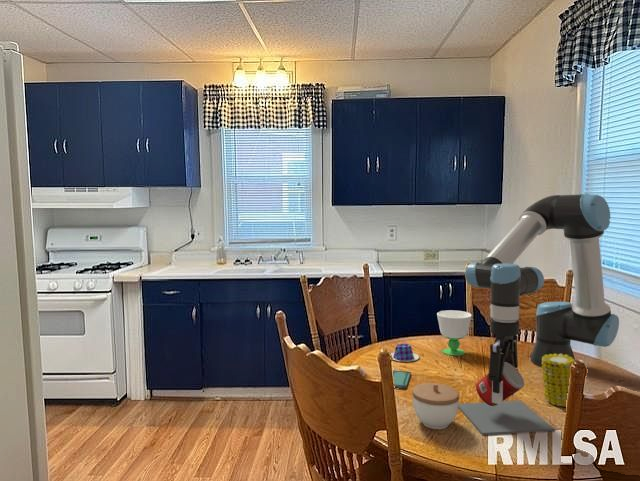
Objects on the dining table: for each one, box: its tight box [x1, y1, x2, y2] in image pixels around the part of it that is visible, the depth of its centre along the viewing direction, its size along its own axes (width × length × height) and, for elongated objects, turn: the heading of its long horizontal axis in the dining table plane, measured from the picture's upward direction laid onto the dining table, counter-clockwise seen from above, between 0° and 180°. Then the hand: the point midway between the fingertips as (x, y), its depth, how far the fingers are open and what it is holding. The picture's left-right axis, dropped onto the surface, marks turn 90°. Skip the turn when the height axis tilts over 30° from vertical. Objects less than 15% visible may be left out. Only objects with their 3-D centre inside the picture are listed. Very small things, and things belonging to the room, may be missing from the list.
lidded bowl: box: [411, 382, 460, 430], centre depth 129 cm, size 13×13×11 cm
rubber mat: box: [458, 400, 556, 436], centre depth 132 cm, size 20×18×1 cm
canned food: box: [475, 362, 525, 406], centre depth 132 cm, size 8×8×11 cm
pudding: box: [391, 343, 420, 362], centre depth 185 cm, size 12×12×5 cm
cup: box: [436, 309, 472, 357], centre depth 190 cm, size 14×14×16 cm
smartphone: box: [393, 369, 412, 390], centre depth 161 cm, size 7×1×15 cm
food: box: [541, 354, 577, 408], centre depth 142 cm, size 15×12×10 cm
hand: (503, 398), depth 132 cm, fingers closed on canned food, 8 cm apart
